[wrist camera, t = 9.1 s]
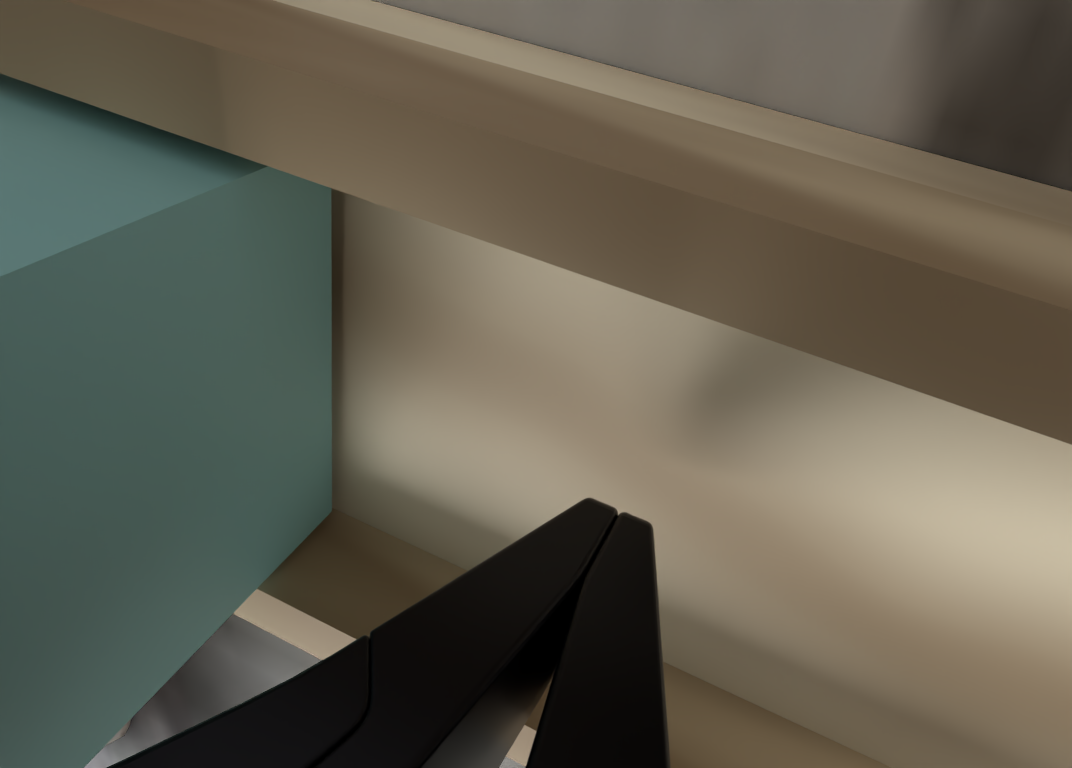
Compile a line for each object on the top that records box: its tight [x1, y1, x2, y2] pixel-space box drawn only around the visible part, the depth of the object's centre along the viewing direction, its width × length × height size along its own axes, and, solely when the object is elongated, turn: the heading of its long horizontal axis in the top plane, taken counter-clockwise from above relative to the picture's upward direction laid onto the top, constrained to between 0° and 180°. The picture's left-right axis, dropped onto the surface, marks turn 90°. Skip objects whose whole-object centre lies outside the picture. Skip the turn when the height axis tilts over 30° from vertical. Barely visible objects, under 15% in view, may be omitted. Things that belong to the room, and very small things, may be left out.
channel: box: [0, 0, 1072, 768], centre depth 10 cm, size 9×28×5 cm, turn 80°
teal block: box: [0, 74, 332, 768], centre depth 9 cm, size 6×5×6 cm
